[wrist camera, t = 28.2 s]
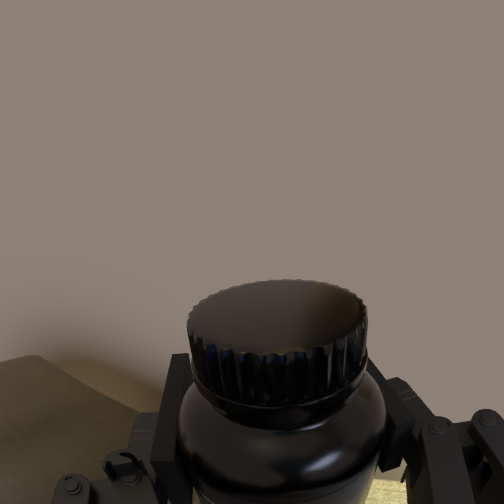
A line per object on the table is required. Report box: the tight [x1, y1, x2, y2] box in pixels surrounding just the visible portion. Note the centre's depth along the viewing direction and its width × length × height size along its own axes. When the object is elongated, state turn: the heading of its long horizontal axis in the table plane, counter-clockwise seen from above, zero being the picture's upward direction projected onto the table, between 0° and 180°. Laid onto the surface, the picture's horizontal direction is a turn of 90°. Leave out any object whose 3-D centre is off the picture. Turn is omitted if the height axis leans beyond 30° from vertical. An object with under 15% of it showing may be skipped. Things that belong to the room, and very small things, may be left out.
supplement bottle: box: [176, 279, 388, 504], centre depth 10 cm, size 7×7×12 cm
